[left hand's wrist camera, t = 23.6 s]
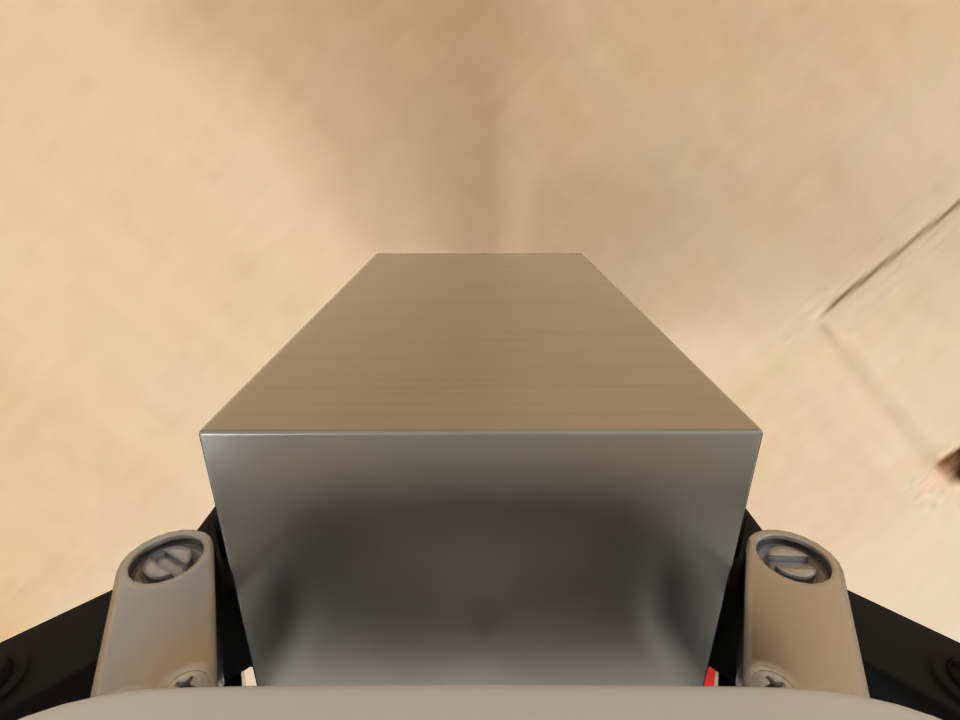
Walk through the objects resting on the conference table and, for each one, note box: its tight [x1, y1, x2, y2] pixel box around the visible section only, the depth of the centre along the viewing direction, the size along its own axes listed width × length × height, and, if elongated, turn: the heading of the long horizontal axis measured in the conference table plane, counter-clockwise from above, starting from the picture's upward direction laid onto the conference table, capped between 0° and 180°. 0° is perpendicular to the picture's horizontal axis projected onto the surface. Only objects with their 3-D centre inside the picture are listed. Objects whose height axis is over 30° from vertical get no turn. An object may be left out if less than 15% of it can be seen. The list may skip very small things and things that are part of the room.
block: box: [199, 254, 763, 686], centre depth 13 cm, size 7×7×12 cm
